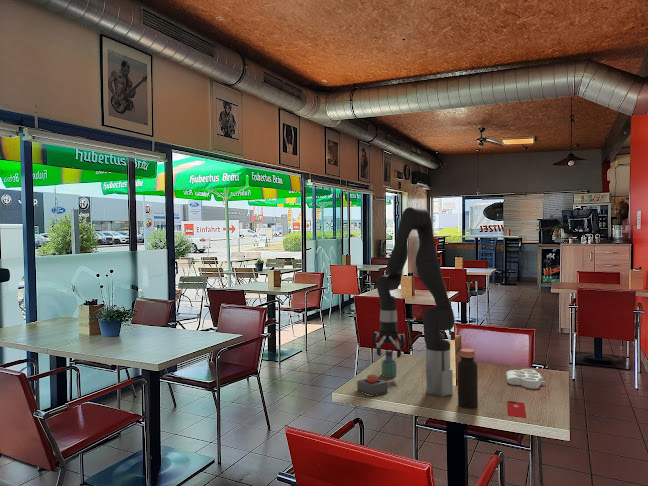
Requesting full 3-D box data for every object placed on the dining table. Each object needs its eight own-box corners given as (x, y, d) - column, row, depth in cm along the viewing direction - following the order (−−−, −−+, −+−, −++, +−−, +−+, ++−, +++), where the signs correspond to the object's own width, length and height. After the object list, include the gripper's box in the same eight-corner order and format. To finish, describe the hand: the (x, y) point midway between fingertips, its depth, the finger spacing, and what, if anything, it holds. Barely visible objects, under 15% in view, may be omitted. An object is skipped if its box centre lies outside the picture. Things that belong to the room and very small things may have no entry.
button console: (387, 392, 187) (387, 382, 187) (370, 396, 182) (370, 386, 182) (373, 386, 194) (373, 376, 194) (357, 390, 189) (357, 380, 189)
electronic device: (526, 419, 159) (524, 404, 173) (526, 417, 159) (524, 402, 173) (507, 417, 161) (507, 402, 175) (507, 415, 161) (507, 400, 175)
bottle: (478, 409, 167) (478, 352, 167) (458, 408, 168) (458, 352, 168) (476, 402, 174) (476, 348, 173) (457, 401, 175) (456, 347, 175)
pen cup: (399, 375, 209) (399, 361, 209) (388, 377, 206) (388, 364, 205) (389, 372, 214) (389, 358, 214) (379, 374, 211) (379, 360, 211)
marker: (394, 373, 209) (394, 351, 209) (388, 374, 208) (388, 352, 208) (389, 372, 212) (389, 349, 212) (384, 373, 210) (384, 350, 210)
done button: (379, 384, 187) (379, 376, 187) (371, 386, 185) (371, 378, 185) (373, 381, 191) (373, 374, 191) (365, 383, 189) (365, 375, 189)
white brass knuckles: (506, 374, 209) (542, 377, 204) (507, 387, 192) (547, 390, 187) (506, 367, 209) (542, 369, 204) (507, 379, 192) (547, 382, 187)
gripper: (406, 319, 210) (407, 356, 210) (375, 317, 216) (376, 353, 216) (402, 322, 203) (402, 360, 203) (370, 320, 209) (370, 357, 209)
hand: (389, 356), depth 210 cm, fingers open, 8 cm apart
